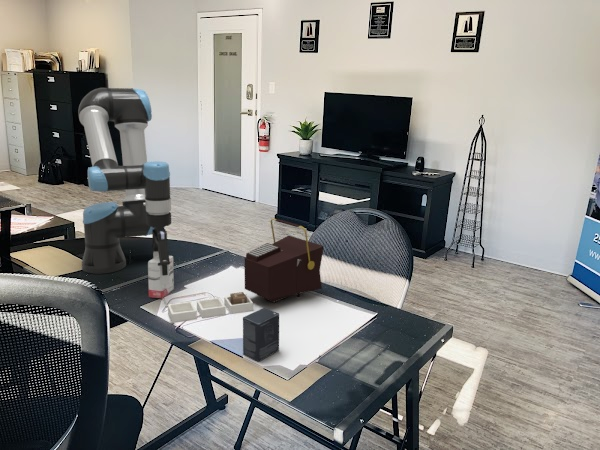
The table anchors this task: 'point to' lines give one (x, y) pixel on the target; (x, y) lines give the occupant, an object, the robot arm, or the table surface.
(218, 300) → the bins
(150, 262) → the ink box
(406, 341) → the table surface
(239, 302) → the letter cube
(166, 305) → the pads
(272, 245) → the brown boxy machine
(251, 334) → the box
